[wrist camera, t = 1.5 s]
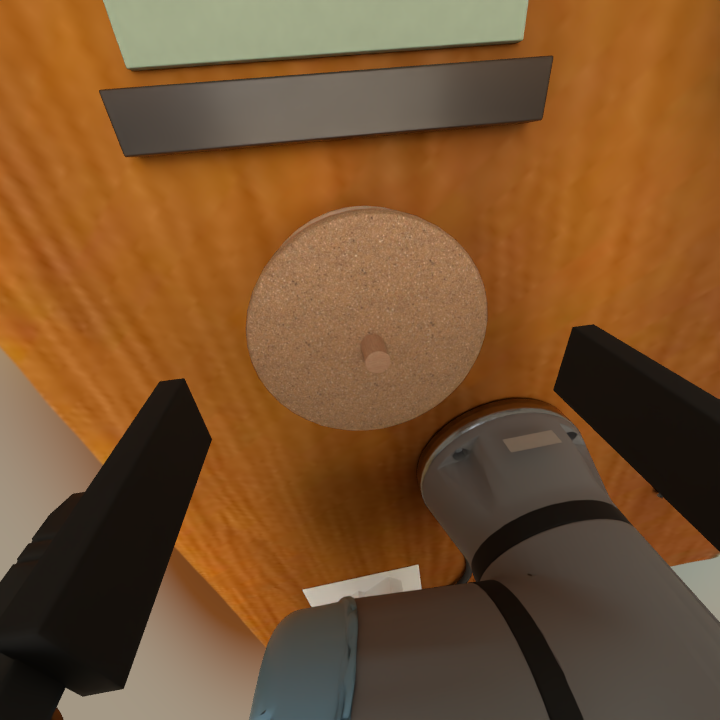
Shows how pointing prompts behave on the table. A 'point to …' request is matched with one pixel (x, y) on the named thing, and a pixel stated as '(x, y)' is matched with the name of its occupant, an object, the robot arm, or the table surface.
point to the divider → (326, 106)
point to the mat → (302, 28)
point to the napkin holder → (366, 586)
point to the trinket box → (366, 318)
